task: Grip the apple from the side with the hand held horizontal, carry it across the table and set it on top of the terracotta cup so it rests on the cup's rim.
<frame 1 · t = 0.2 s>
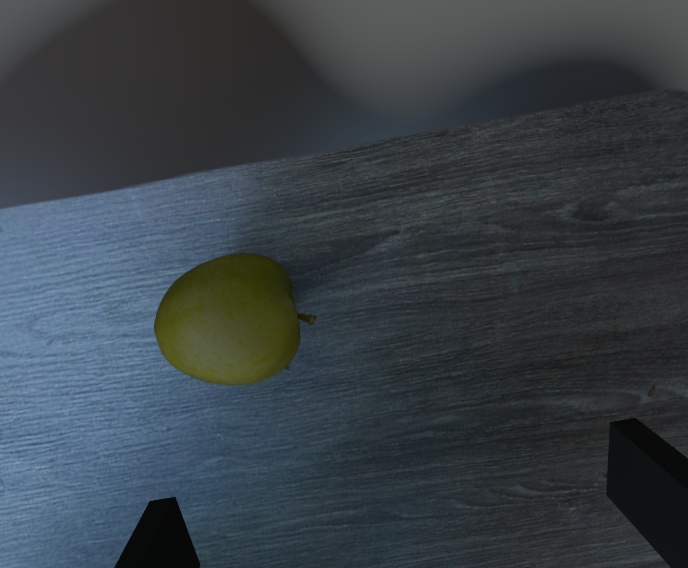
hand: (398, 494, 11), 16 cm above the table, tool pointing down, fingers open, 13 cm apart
apple: (255, 299, 27), on the table
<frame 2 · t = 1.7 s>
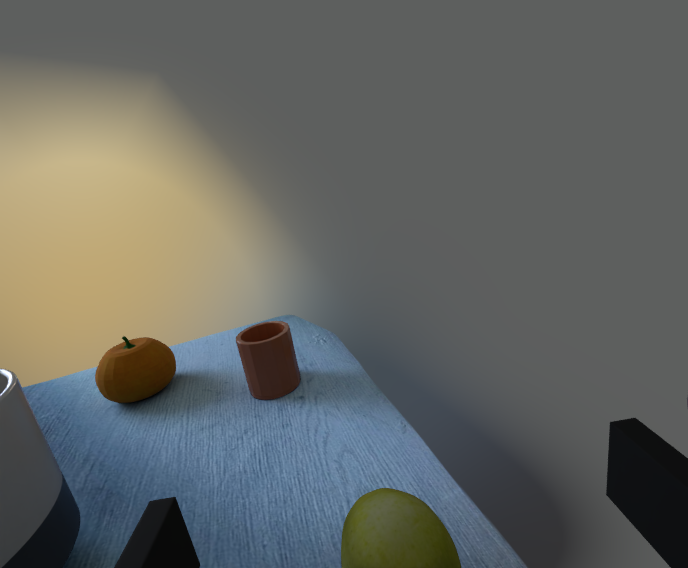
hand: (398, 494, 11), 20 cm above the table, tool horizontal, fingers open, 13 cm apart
cup: (275, 384, 57), on the table
fruit: (145, 391, 63), on the table
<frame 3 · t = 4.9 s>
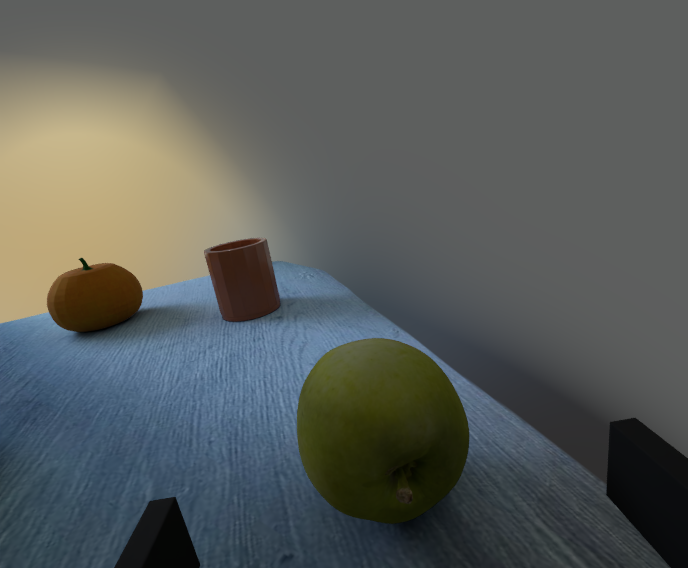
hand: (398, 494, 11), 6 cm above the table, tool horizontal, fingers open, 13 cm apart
apple: (390, 493, 19), on the table
cup: (251, 309, 50), on the table
fruit: (106, 323, 56), on the table
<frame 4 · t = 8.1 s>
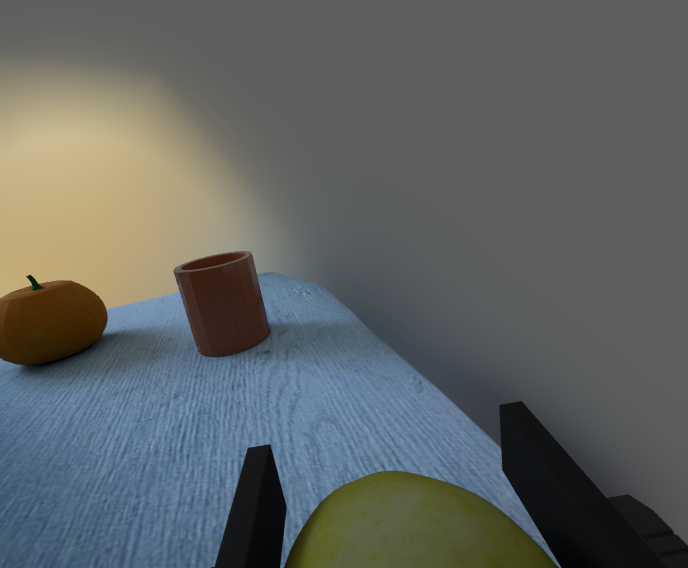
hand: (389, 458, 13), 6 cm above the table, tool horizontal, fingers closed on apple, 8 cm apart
cup: (234, 339, 41), on the table
fruit: (63, 352, 46), on the table
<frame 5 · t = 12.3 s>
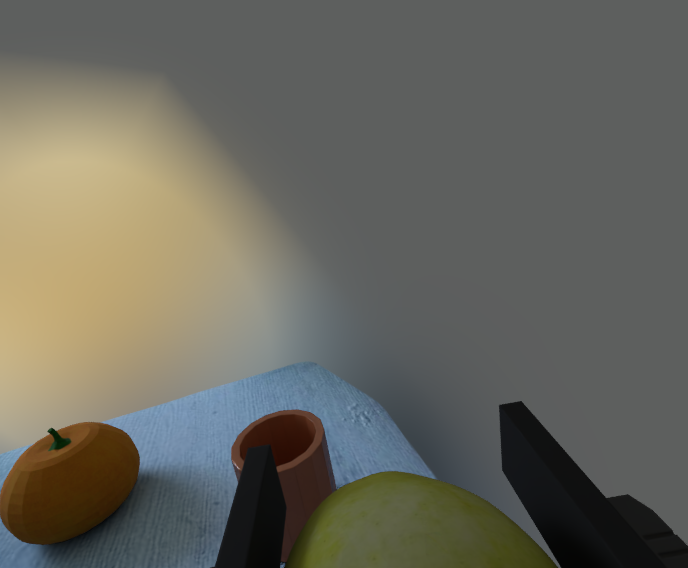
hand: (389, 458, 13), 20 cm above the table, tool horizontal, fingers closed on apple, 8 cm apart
cup: (298, 519, 34), on the table
fruit: (89, 509, 40), on the table
when the fingers open (15 cm above the table, at t = 16.9 s): apple stays where it is, resting on cup.
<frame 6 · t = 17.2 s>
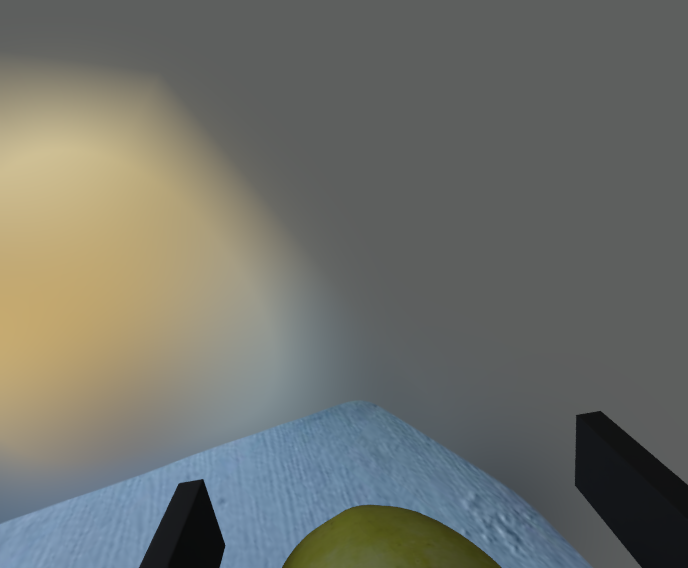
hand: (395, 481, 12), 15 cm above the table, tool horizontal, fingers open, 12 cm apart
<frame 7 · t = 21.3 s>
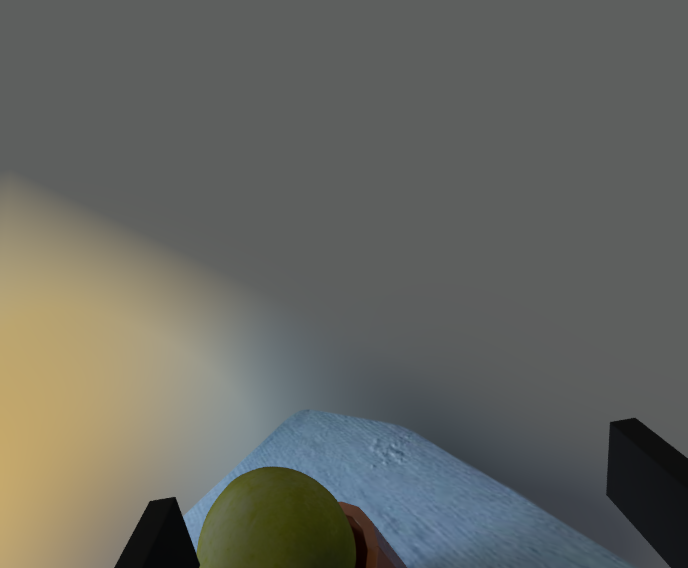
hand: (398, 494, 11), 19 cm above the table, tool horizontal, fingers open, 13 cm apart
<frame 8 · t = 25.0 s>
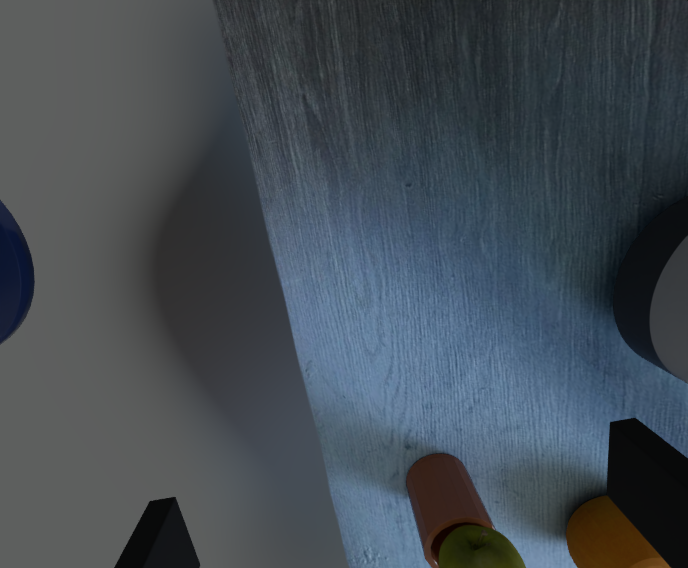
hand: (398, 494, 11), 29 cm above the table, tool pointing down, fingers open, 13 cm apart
apple: (458, 540, 39), point 8 cm above the table, touching cup
cup: (436, 479, 47), on the table
planter: (676, 274, 41), on the table
fruit: (595, 516, 50), on the table
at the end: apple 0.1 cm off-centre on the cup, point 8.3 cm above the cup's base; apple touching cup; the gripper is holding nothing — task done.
